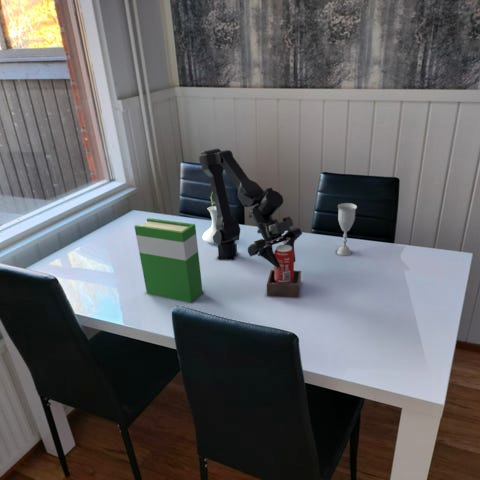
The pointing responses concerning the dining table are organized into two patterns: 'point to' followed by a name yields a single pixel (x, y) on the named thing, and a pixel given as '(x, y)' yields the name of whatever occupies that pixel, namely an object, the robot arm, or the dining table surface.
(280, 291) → the crate
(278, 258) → the beverage can
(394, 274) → the dining table surface
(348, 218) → the chalice
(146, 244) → the hardback book
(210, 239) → the flower in vase
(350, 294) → the dining table surface
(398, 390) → the dining table surface
